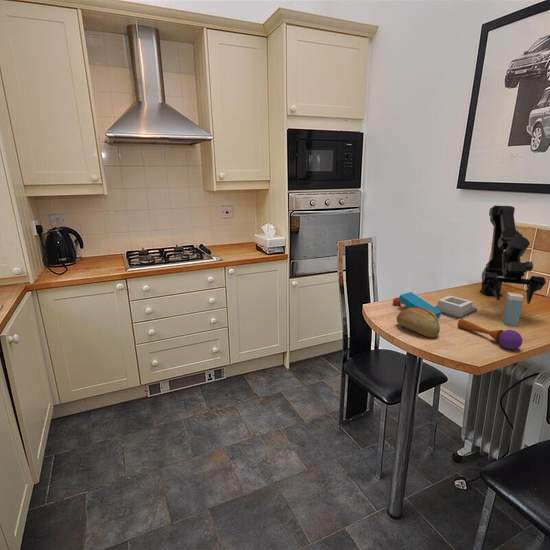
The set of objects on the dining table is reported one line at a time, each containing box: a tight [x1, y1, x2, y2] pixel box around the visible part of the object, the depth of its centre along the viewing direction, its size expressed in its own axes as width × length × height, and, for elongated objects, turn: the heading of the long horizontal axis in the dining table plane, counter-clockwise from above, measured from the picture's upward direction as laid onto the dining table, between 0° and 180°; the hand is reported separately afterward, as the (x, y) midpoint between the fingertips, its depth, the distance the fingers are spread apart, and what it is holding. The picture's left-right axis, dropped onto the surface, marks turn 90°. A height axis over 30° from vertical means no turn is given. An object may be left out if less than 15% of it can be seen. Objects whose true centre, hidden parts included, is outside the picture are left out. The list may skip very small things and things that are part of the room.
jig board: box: [434, 295, 478, 320], centre depth 140 cm, size 14×11×4 cm
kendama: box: [457, 318, 524, 351], centre depth 117 cm, size 6×6×20 cm
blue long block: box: [392, 291, 442, 318], centre depth 140 cm, size 7×7×18 cm
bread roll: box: [396, 306, 441, 339], centre depth 122 cm, size 10×15×8 cm, turn 40°
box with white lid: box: [501, 291, 525, 327], centre depth 128 cm, size 4×4×11 cm
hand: (513, 301), depth 127 cm, fingers open, 9 cm apart
